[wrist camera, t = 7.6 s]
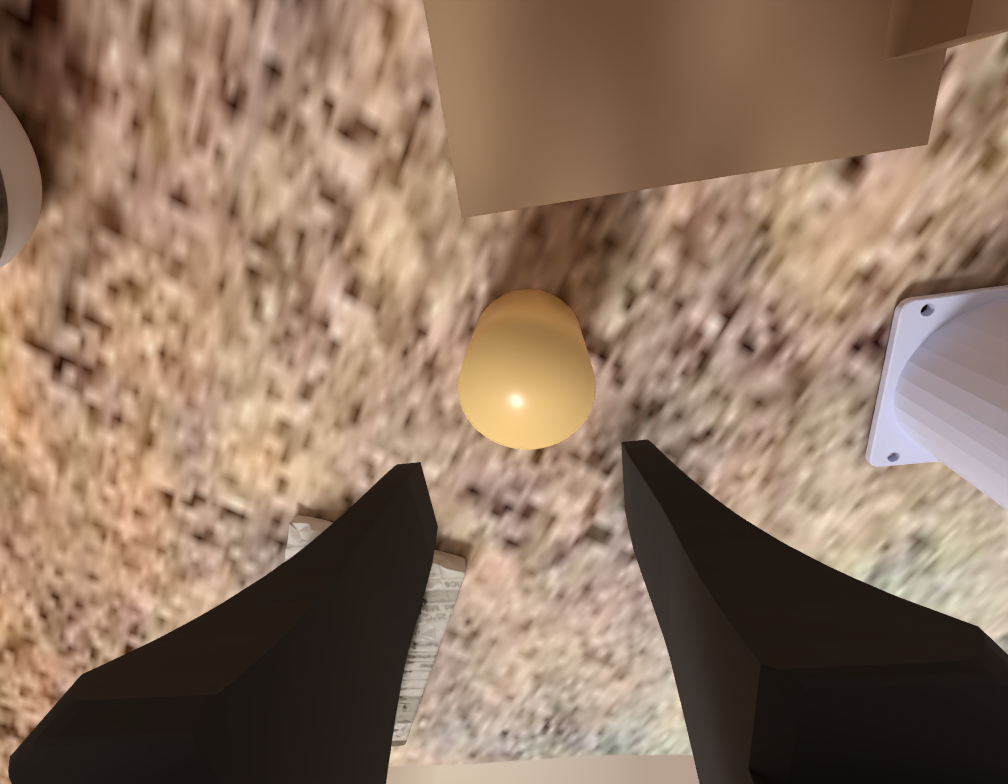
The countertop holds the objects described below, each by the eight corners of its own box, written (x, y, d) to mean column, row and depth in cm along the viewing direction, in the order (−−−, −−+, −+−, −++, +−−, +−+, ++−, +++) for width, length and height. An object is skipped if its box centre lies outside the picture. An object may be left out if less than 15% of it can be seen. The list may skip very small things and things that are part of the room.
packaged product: (392, 805, 30) (237, 772, 30) (410, 725, 35) (275, 694, 34) (459, 624, 23) (252, 573, 22) (471, 550, 27) (298, 505, 26)
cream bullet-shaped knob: (577, 281, 20) (590, 315, 15) (586, 385, 22) (600, 442, 17) (464, 297, 20) (445, 335, 16) (483, 396, 22) (471, 455, 18)
